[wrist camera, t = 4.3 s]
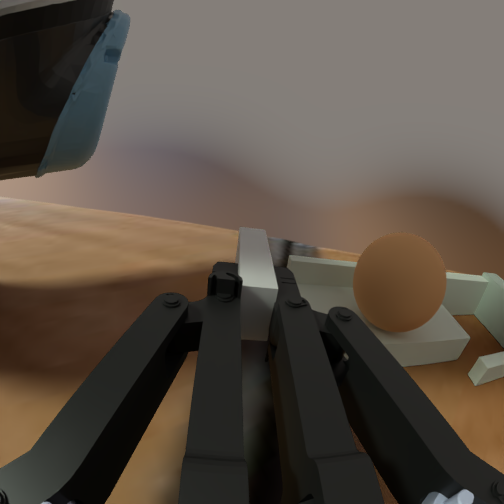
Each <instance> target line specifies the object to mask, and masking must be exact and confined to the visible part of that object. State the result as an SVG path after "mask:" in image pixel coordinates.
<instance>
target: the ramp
mask: <svg viewBox="0 0 504 504" xmlns="http://www.w3.org/2000/svg"><path fill="white" fill-rule="evenodd" d="M356 265H357V262H349V261H340V260H330V259H321V258H312V257H303V256H293V255H289V260H288V265H287V268H288V269H289V270H290V271H292V272H293V274H294V277H295V280H296V283H297V286H298V289H299V292H300V295H301V297H303V298H304V299H306V300H307V301H308V302H309V304H310V306H311V309H312V310H315V311H318V312H321V313H325V314H328V312H329V310H330V309H331V308H332V307H336V306H337V307H346V308H348V309H350V310H352V311H353V312H355V313H356V314H357V315H358V316H359V317H360V319H361V320H362V321H363V322H364V323H365V324H366V325H367V327H368V328H369V329H370V330H371V331H372V332H373V333H374V335H375V336H376V337H377V338H378V339H379V340H380V341H381V343H382V344H383V345H384V346H385V347H386V348H387V350H388V351H389V352H390V353H391V354H392V355H393V357H394V358H395V359H396V360H397V361H398V362H399V364H400V365H401V366H402V367H406V366H415V365H424V364H431V363H438V362H445V361H452V360H457V359H458V358H459V356H460V355H461V353H462V351H463V350H464V348H465V346H466V345H467V343H468V341H469V340H470V336H469V335H468V334H467V333H466V332H465V330H464V329H463V328H462V327H461V326H460V324H459V323H458V322H457V321H456V320H455V319H454V317H453V316H452V315H473V314H474V315H475V316H476V317H477V318H478V320H479V321H480V322H481V323H482V324H483V325H484V326H485V327H486V328H487V329H488V331H489V332H490V333H491V334H492V335H493V336H494V337H495V339H496V340H497V341H498V342H499V343H500V345H501V346H502V347H503V348H504V280H502V279H501V278H500V277H499V276H498V275H497V274H492V273H485V272H484V273H483V275H482V276H477V275H468V274H459V273H450V272H446V279H447V284H446V292H445V296H444V299H443V301H442V304H441V306H440V308H439V309H438V311H437V312H436V313H435V315H434V316H433V317H432V318H431V319H430V320H429V321H428V322H427V323H425V324H424V325H422V326H421V327H419V328H416V329H414V330H411V331H407V332H390V331H386V330H383V329H380V328H378V327H377V326H375V325H373V324H372V323H371V322H370V321H368V320H367V319H366V318H365V316H364V315H363V314H362V312H361V311H360V309H359V307H358V305H357V303H356V300H355V297H354V292H353V276H354V271H355V267H356ZM344 356H345V358H346V359H347V360H348V358H349V357H348V355H347V354H346V352H345V354H344ZM468 376H469V377H470V379H471V380H472V382H473V383H474V385H475V386H477V385H480V384H483V383H486V382H489V381H492V380H495V379H498V378H501V377H504V351H503V352H499V353H495V354H490V355H486V356H481V357H479V358H478V360H477V361H476V363H475V364H474V366H473V367H472V369H471V370H470V372H469V373H468Z"/></svg>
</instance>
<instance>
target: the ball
mask: <svg viewBox="0 0 504 504" xmlns="http://www.w3.org/2000/svg"><path fill="white" fill-rule="evenodd" d="M446 284H447V279H446V270H445V266H444V263H443V261H442V259H441V257H440V255H439V253H438V252H437V250H436V249H435V248H434V247H433V246H432V245H431V244H430V243H429V242H428V241H426V240H425V239H423V238H422V237H419V236H417V235H414V234H411V233H404V232H399V233H391V234H387V235H385V236H382V237H380V238H379V239H377V240H375V241H374V242H373V243H371V244H370V245H369V246H368V247H367V248H366V249H365V251H364V252H363V253H362V255H361V256H360V258H359V260H358V262H357V265H356V267H355V271H354V276H353V292H354V297H355V300H356V303H357V305H358V307H359V309H360V311H361V312H362V314H363V315H364V316H365V318H366V319H367V320H368V321H370V322H371V323H372V324H373V325H375V326H377V327H378V328H380V329H383V330H386V331H390V332H407V331H411V330H414V329H416V328H419V327H421V326H422V325H424V324H425V323H427V322H428V321H429V320H430V319H431V318H432V317H433V316H434V315H435V313H436V312H437V311H438V309H439V308H440V306H441V304H442V301H443V299H444V296H445V292H446Z"/></svg>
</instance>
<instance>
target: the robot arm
mask: <svg viewBox="0 0 504 504" xmlns="http://www.w3.org/2000/svg"><path fill="white" fill-rule="evenodd" d="M113 1H114V0H0V180H6V179H13V178H21V177H28V176H35V177H36V178H39V177H40V176H43V175H44V174H45V173H51V172H58V171H65V170H72V169H76V168H78V167H81V166H83V165H84V164H85V163H86V162H87V161H88V160H89V159H90V158H91V156H92V155H93V154H94V152H95V149H96V147H97V144H98V141H99V137H100V134H101V130H102V126H103V122H104V118H105V114H106V111H107V107H108V103H109V99H110V95H111V91H112V87H113V84H114V80H115V76H116V72H117V68H118V61H119V60H120V56H121V52H122V49H123V47H124V44H125V41H126V38H127V34H128V30H129V26H130V17H129V15H128V14H125V13H123V12H122V11H121V10H115V11H113V12H111V9H112V5H113ZM268 334H269V337H270V341H269V345H268V349H267V354H266V358H265V361H268V358H269V364H270V373H271V382H272V391H273V400H274V409H275V418H276V427H277V436H278V445H279V455H280V464H281V473H282V483H283V492H282V497H281V504H384V500H383V497H382V493H381V490H380V486H379V483H378V479H377V476H376V472H375V469H374V466H373V464H374V465H375V467H376V469H377V470H378V472H379V474H380V475H381V477H382V478H383V480H384V482H385V483H386V485H387V487H388V488H389V490H390V492H391V493H392V495H393V496H394V498H395V499H396V500H397V502H398V503H399V504H504V474H502V473H501V472H499V471H498V470H496V469H495V468H493V467H492V466H490V465H489V464H488V463H486V462H485V461H483V460H482V459H480V458H479V457H477V456H476V455H475V454H473V453H472V452H470V451H469V449H468V448H467V447H466V445H465V444H464V443H463V441H462V440H461V439H460V438H459V436H458V435H457V434H456V432H455V431H454V430H453V429H452V427H451V426H450V425H449V423H448V422H447V421H446V420H445V418H444V417H443V416H442V415H441V413H440V412H439V411H438V410H437V408H436V407H435V406H434V405H433V403H432V402H431V401H430V400H429V399H428V397H427V396H426V395H425V394H424V392H423V391H422V390H421V389H420V388H419V386H418V385H417V384H416V383H415V382H414V380H413V379H412V378H411V377H410V376H409V374H408V373H407V372H406V371H405V370H404V368H403V367H402V366H401V365H400V364H399V362H398V361H397V360H396V359H395V358H394V357H393V355H392V354H391V353H390V352H389V351H388V350H387V348H386V347H385V346H384V345H383V344H382V343H381V341H380V340H379V339H378V338H377V337H376V336H375V335H374V333H373V332H372V331H371V330H370V329H369V328H368V327H367V325H366V324H365V323H364V322H363V321H362V320H361V319H360V317H359V316H358V315H357V314H356V313H355V312H353V311H352V310H350V309H348V308H346V307H337V306H336V307H332V308H331V309H330V310H329V312H328V314H325V313H321V312H318V311H315V310H312V309H311V306H310V304H309V302H308V301H307V300H306V299H304V298H303V297H301V295H300V292H299V289H298V286H297V283H296V280H295V277H294V274H293V272H292V271H290V270H289V269H288V268H283V267H274V266H273V262H272V258H271V253H270V249H269V245H268V240H267V236H266V232H265V230H262V229H253V228H246V227H240V229H239V237H238V245H237V253H236V261H235V263H228V262H217V263H216V264H215V265H214V266H213V271H212V274H210V276H209V277H208V291H207V297H206V298H204V299H202V300H200V301H195V302H188V300H187V298H186V297H185V296H183V295H181V294H178V293H164V294H161V295H159V296H158V297H156V298H155V299H154V300H153V302H152V303H151V304H150V305H149V306H148V307H147V308H146V309H145V311H144V312H143V313H142V314H141V315H140V316H139V317H138V318H137V320H136V321H135V322H134V323H133V324H132V325H131V326H130V328H129V329H128V330H127V331H126V332H125V333H124V335H123V336H122V337H121V338H120V339H119V340H118V342H117V343H116V344H115V345H114V346H113V347H112V349H111V350H110V351H109V352H108V353H107V354H106V356H105V357H104V358H103V359H102V360H101V362H100V363H99V364H98V365H97V366H96V368H95V369H94V370H93V371H92V372H91V374H90V375H89V376H88V377H87V378H86V380H85V381H84V382H83V383H82V385H81V386H80V387H79V388H78V389H77V391H76V392H75V393H74V394H73V396H72V397H71V398H70V399H69V401H68V402H67V403H66V404H65V406H64V407H63V408H62V409H61V411H60V412H59V413H58V415H57V416H56V417H55V418H54V420H53V421H52V422H51V424H50V425H49V426H48V427H47V429H46V430H45V431H44V433H43V434H42V435H41V437H40V438H39V439H38V441H37V442H36V443H35V445H34V446H33V447H32V449H31V450H30V451H28V452H27V453H25V454H24V455H22V456H20V457H19V458H17V459H15V460H14V461H12V462H10V463H9V464H7V465H5V466H4V467H2V468H0V504H105V502H106V501H107V499H108V497H109V496H110V494H111V492H112V491H113V489H114V487H115V485H116V483H117V481H118V480H119V478H120V476H121V474H122V472H123V470H124V469H125V467H126V465H127V463H128V461H129V460H130V458H131V456H132V454H133V452H134V450H135V449H136V447H137V445H138V443H139V441H140V440H141V438H142V436H143V434H144V432H145V431H146V429H147V427H148V425H149V423H150V422H151V420H152V418H153V416H154V414H155V413H156V411H157V409H158V407H159V405H160V404H161V402H162V400H163V398H164V396H165V395H166V393H167V391H168V389H169V387H170V386H171V384H172V382H173V380H174V378H175V377H176V375H177V373H178V371H179V369H180V368H181V366H182V364H183V362H184V361H185V359H186V357H187V354H188V352H190V351H198V350H199V351H198V358H197V365H196V372H195V379H194V387H193V394H192V402H191V410H190V418H189V427H188V435H187V444H186V452H185V456H184V458H183V463H182V471H181V481H180V491H179V503H178V504H249V490H248V470H247V463H246V461H245V459H244V446H243V409H242V364H241V339H243V340H257V341H267V339H268ZM345 352H346V354H347V355H348V357H349V358H348V360H347V359H346V358H345V356H344V354H345ZM349 424H350V426H351V427H352V429H353V431H354V432H355V434H356V436H357V437H358V439H359V441H360V442H361V444H362V445H363V447H364V449H365V450H366V452H367V454H368V455H367V454H366V453H363V452H359V451H358V450H357V448H356V446H355V443H354V439H353V436H352V433H351V429H350V426H349ZM372 462H373V463H372Z"/></svg>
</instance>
